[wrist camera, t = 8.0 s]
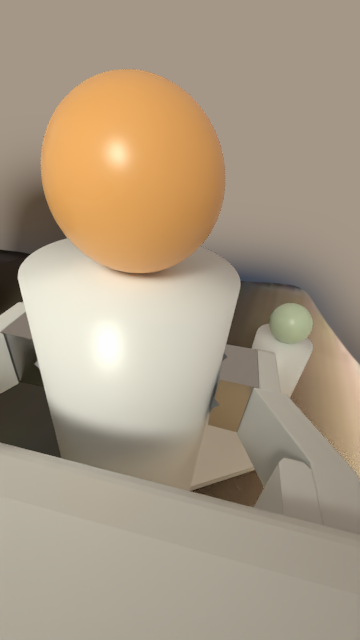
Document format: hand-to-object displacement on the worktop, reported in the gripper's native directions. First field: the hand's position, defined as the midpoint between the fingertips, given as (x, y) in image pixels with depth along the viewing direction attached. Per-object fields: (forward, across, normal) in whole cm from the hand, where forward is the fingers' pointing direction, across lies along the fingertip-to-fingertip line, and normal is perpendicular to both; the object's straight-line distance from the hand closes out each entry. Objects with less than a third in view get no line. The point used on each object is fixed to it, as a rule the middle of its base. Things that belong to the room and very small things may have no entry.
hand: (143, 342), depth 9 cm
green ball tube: (+14, -9, +18) cm, 25 cm away
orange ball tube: (-1, 0, +7) cm, 7 cm away
